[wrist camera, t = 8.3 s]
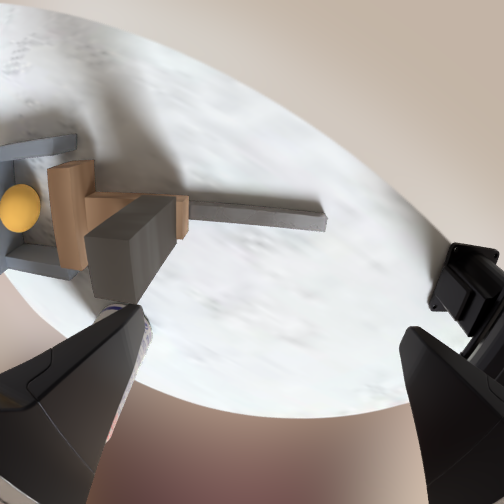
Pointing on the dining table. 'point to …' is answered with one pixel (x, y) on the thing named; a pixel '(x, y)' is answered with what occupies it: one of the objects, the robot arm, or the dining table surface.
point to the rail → (257, 215)
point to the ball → (19, 208)
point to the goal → (11, 243)
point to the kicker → (113, 231)
